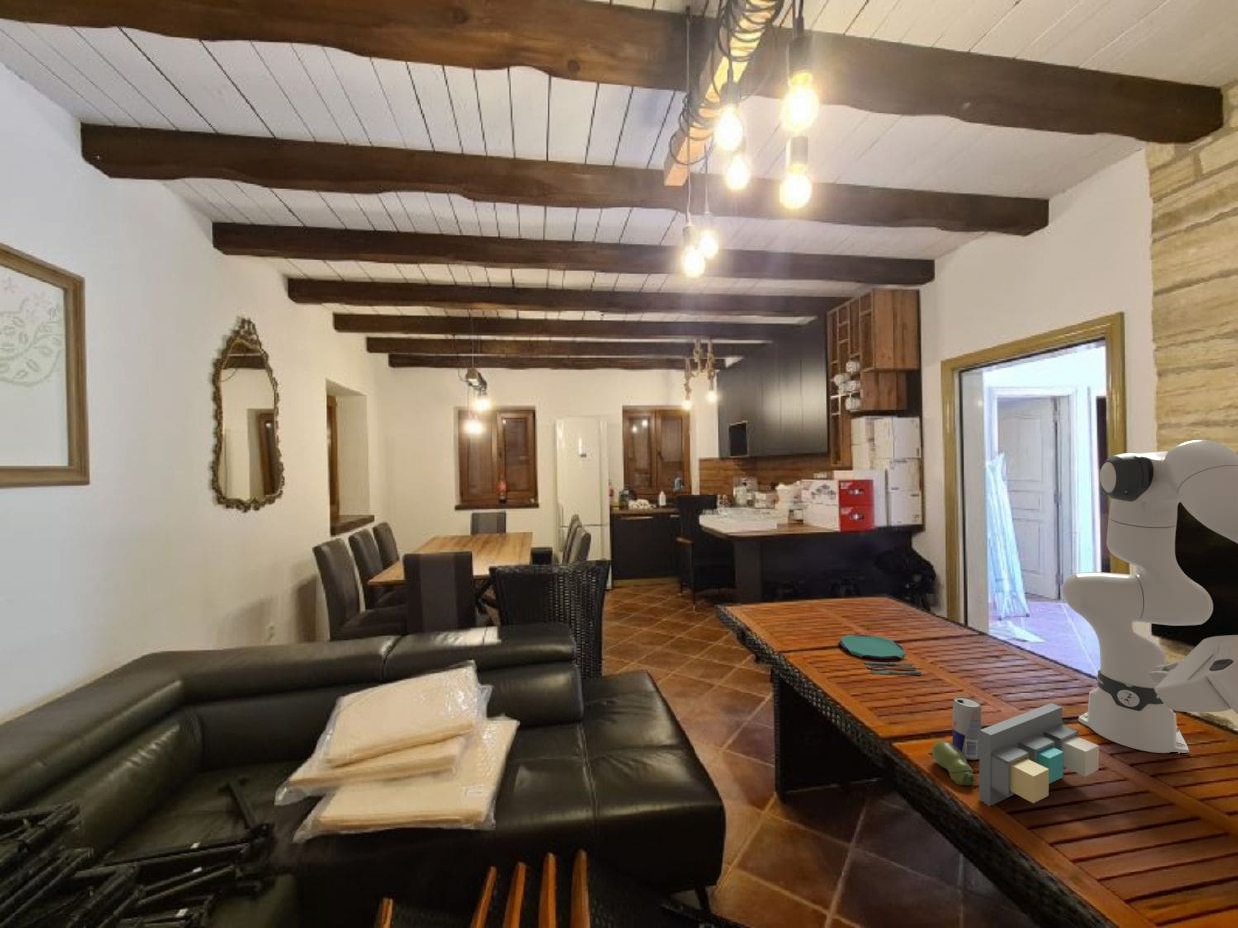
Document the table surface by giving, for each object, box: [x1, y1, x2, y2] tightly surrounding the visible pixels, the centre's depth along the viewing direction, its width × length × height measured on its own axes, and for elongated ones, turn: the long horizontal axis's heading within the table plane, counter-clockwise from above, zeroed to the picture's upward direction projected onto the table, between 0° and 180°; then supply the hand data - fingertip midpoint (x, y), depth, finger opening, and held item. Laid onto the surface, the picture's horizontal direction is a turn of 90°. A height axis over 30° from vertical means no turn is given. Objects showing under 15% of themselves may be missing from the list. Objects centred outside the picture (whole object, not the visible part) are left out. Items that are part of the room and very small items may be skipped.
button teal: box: [1037, 746, 1064, 785], centre depth 102 cm, size 5×4×5 cm
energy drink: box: [951, 696, 982, 761], centre depth 117 cm, size 5×5×12 cm
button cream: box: [1062, 736, 1100, 777], centre depth 104 cm, size 5×4×5 cm
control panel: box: [978, 702, 1080, 807], centre depth 104 cm, size 25×5×14 cm, turn 115°
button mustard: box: [1010, 758, 1050, 804], centre depth 97 cm, size 5×4×5 cm
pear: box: [931, 740, 976, 786], centre depth 110 cm, size 6×5×10 cm
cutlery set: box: [839, 634, 922, 676], centre depth 173 cm, size 20×30×2 cm, turn 172°
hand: (1155, 673), depth 92 cm, fingers closed
